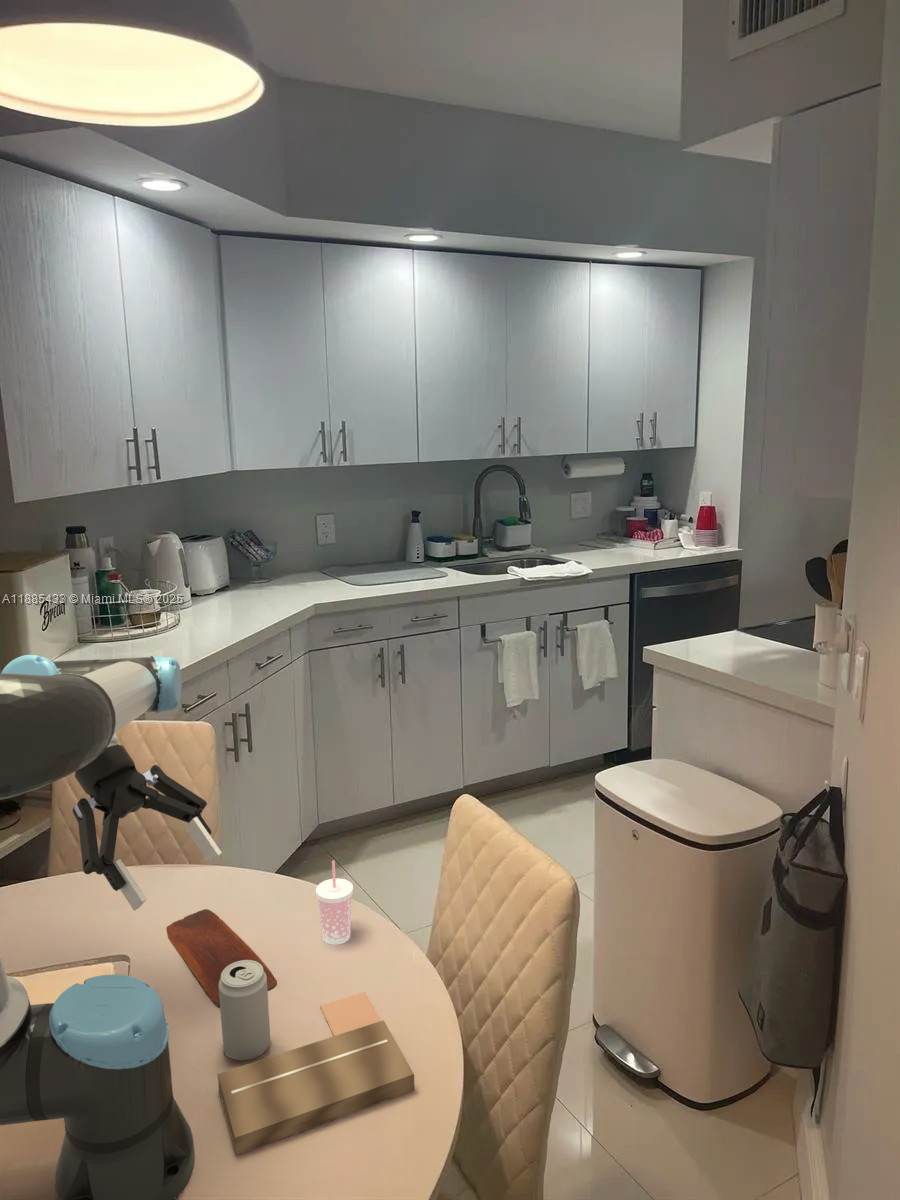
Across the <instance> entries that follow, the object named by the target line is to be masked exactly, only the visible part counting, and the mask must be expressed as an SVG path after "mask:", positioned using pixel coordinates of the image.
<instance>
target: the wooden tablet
mask: <svg viewBox="0 0 900 1200" xmlns="http://www.w3.org/2000/svg"><path fill="white" fill-rule="evenodd" d="M166 935H167V939H168V940H169V942H170V944H171V945H172V946H173V947H174V948H175V950H176V952H177V953H178V954H179V956H181V958H182V959H183V960H184V962H185V964H187V966H188V967H189V969H190V970H191V972H192V973H193V975H194V977H195V978H196V979H197V980H198V982H199V984H201V986H202V987H203V990H204V991H205V993H206V994H207V995H208V997H209V998H210V999H211V1000H212V1002H213V1003H214V1004H215V1005H216V1006H217V1007H218V1008H220V997H219V981H220V979H221V973H222V971H223V970H224V969H225V968H226V967H227V966H228V965H230V964H232V963H234V962H237V961H241V960H253V961H256V962H258V963H260V964H261V965H262V967H263V971H264V972H265V974H266V976H267V992H269V991H270V990H273V989H274V988H275V987H276V986H277V984H278V983H277V979H276V977H275V976H274V975H273V973H272V971H271V970H270V969H269V967H267V965H266V964H265V962H263V961H262V959H261V958H260V957H259V955H258V954H257V953H256V951H254V950H253V949H252V948H251V947H250V946H249V945H248V944H247V943H246V942H245V941H244V940H243V939H242V938H241V937H240V936H239V935H238V934H237V933H236V932H235V931H234V930H233V929H232V928H231V927H230V926H229V925H228V924H227V923H226V922H225V921H224V920H223V919H222V918H221V917H219V916H218V914H217V913H215V912H214V911H212V910H210V909H207V908H206V909H202V910H198V911H196V912H194V913H191V914H188V915H186V916H184V917H183V918H181V919H179V920H178V919H177V920H176V921H174V922H172V923H171V924H169V925H167V926H166Z"/></svg>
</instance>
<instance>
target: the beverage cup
mask: <svg viewBox="0 0 900 1200" xmlns="http://www.w3.org/2000/svg"><path fill="white" fill-rule="evenodd" d="M331 870H332V871H331V873H332V878H330V879H325V880H323V881H322V882H320V883H318V885H317V886H316V888H315V893H316V895H315V896H316V898H317V899H318V908H319V917H320V925H321V927H320V928H321V933H322V940H323V942H324V943H326V944H328V945H331V946H332V945H333V946H337V945H342V944H344V943H346V942H347V941H349V940H350V938H351V928H352V927H351V926H352V925H351V920H352V896H353V894H354V885H353V883H352V882H351V881H349V880H347V879H346V878H345V879H344V878H340V877H339V878H338V877H337V878H336V860H335V859H333V860H331Z"/></svg>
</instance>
